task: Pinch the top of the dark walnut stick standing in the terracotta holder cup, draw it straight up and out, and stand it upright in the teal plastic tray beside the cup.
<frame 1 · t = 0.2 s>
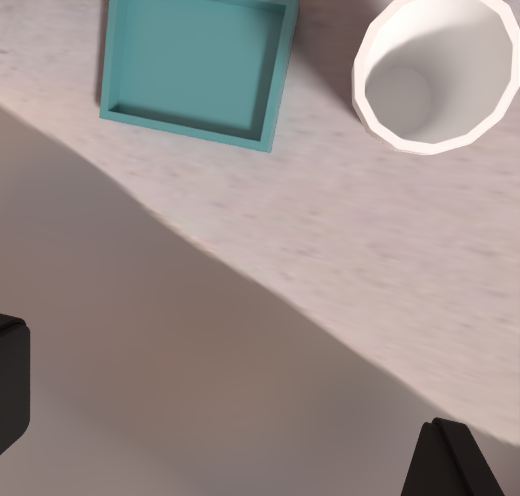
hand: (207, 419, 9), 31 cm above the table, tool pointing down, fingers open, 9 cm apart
tray: (199, 68, 37), on the table
foam cup: (395, 104, 35), on the table
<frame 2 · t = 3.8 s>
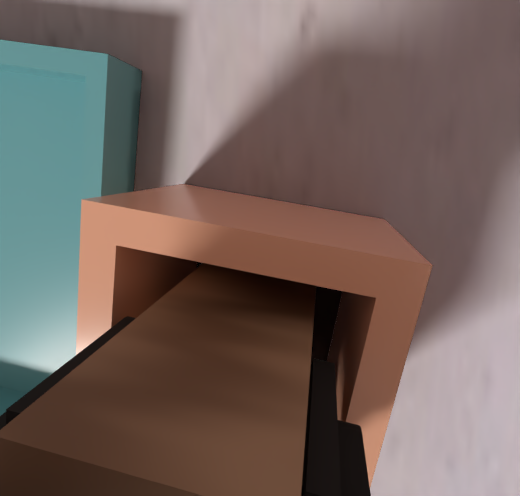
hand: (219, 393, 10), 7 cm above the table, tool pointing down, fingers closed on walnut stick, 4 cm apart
holder cup: (264, 295, 17), on the table
tray: (4, 241, 18), on the table
walnut stick: (232, 365, 11), in the holder cup, touching gripper
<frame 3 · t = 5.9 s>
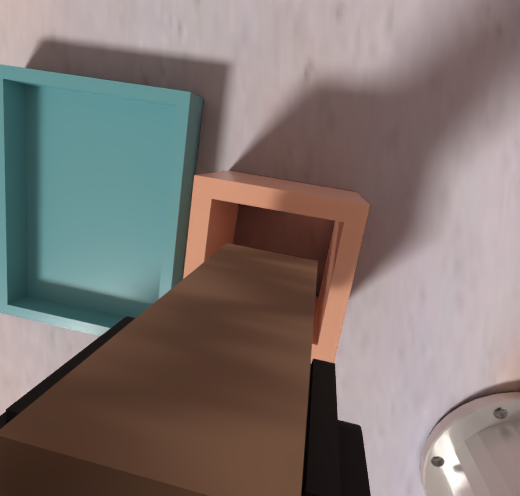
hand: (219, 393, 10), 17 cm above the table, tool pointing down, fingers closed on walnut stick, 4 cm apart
holder cup: (280, 243, 26), on the table
tray: (104, 210, 27), on the table
walnut stick: (232, 365, 11), point 15 cm above the table, touching gripper
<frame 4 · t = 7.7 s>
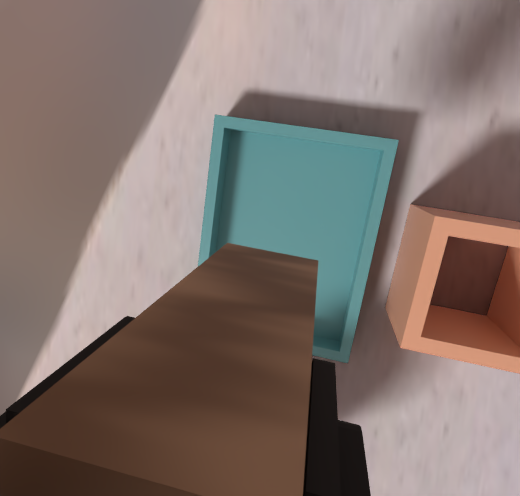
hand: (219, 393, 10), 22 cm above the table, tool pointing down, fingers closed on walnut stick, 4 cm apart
holder cup: (454, 267, 29), on the table
tray: (287, 237, 31), on the table
walnut stick: (232, 365, 11), point 20 cm above the table, touching gripper
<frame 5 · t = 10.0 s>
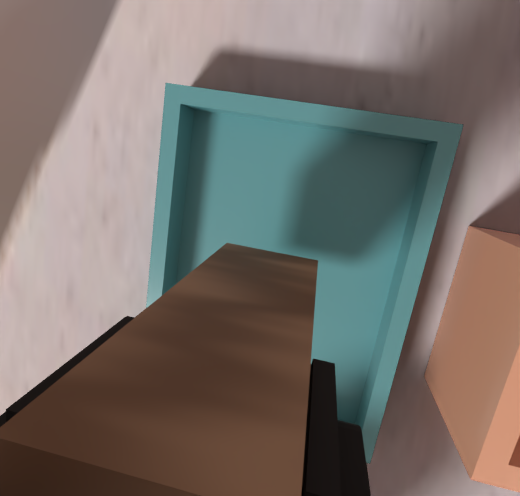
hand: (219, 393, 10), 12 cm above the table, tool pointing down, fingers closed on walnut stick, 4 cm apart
tray: (280, 271, 21), on the table
walnut stick: (232, 365, 11), point 10 cm above the table, touching gripper
when the fingers open (9 cm above the table, at t = 11.8 s): walnut stick stays where it is, resting on tray.
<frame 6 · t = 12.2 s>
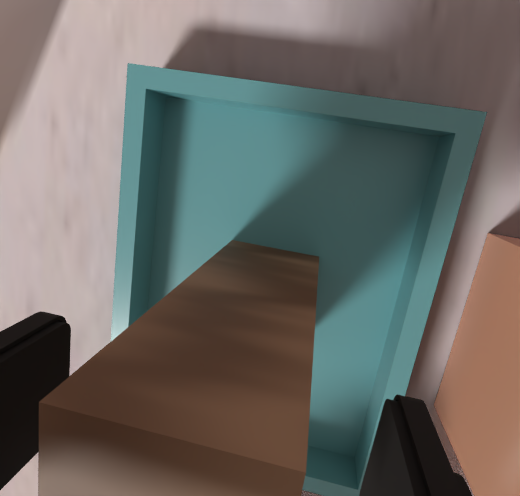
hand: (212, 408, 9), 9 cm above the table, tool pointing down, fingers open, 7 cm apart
tray: (268, 285, 18), on the table
walnut stick: (239, 353, 12), in the tray, point 7 cm above the table
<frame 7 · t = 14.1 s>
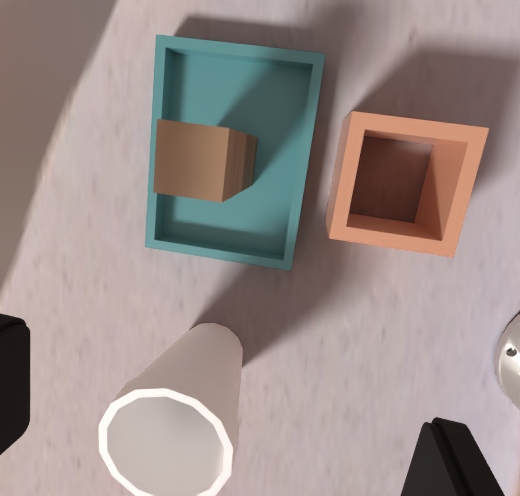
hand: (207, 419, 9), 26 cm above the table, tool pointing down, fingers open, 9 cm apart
holder cup: (383, 179, 32), on the table
tray: (233, 158, 33), on the table
walnut stick: (215, 159, 26), in the tray, point 7 cm above the table
foam cup: (212, 350, 38), on the table
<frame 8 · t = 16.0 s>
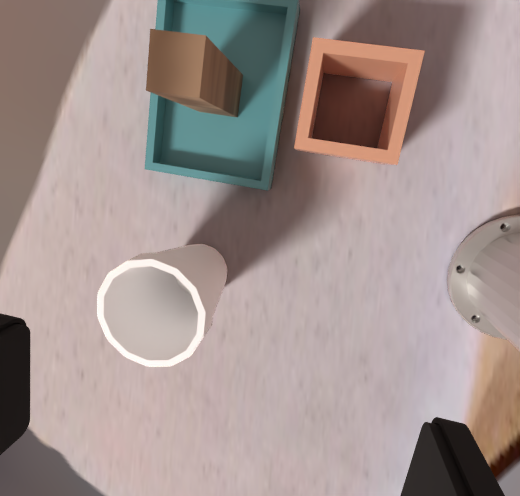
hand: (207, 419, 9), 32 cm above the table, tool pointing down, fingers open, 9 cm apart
holder cup: (350, 113, 37), on the table
tray: (222, 94, 38), on the table
walnut stick: (202, 81, 32), in the tray, point 7 cm above the table
foam cup: (201, 269, 43), on the table
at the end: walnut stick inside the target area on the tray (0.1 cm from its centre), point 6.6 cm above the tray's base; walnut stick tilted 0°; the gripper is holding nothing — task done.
